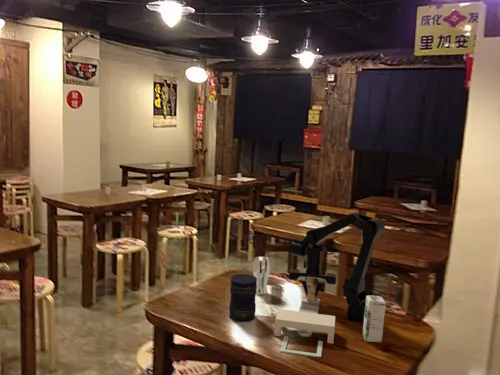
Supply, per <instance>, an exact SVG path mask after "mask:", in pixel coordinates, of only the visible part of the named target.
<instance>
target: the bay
mask: <svg viewBox="0 0 500 375" xmlns="http://www.w3.org/2000/svg"><path fill="white" fill-rule="evenodd" d="M289 337H290V336H288V335H284V337H283V340H282V343H281V347H280V349H279V352H280V353H286V354H291V355H301V356H306V357H313V358H318V359H319V358H322V353H323V342H324V341H323V340H318V341H317V348H316V352H315V353H314V352H306V351H300V350H295V349H294V350H292V349H288V348H287V345H288V343H289Z"/></svg>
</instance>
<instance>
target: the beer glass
mask: <svg viewBox="0 0 500 375" xmlns="http://www.w3.org/2000/svg"><path fill="white" fill-rule="evenodd" d="M270 262H271V260H270V258H269V257H267V256H256V257H254V258H253V265H252V266H253V267H252V271H253V272H252V274H253V276H255V277H256V278H257V289H256V291H257V292H256V294H257V295H258V296H266V295H267V294H268V287H267V286H268V281H269V276H270V271H271V270H270V269H271V265H270V264H271V263H270ZM256 294H255V295H256Z"/></svg>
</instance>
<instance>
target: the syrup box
mask: <svg viewBox="0 0 500 375" xmlns="http://www.w3.org/2000/svg"><path fill="white" fill-rule="evenodd" d="M386 304H387V302H385V299H384V297H383V296H381V295H369V296H366V304H365V313H364V322H362V323H363V324H362V325H363V326H362V336H363V339H364V341H365V342H368V343H369V342H370V343H371V342H373V343H374V342H375V343H382V342H383V334H384V333H383V332H384V321H385V313H386Z"/></svg>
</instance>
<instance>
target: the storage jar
mask: <svg viewBox="0 0 500 375" xmlns="http://www.w3.org/2000/svg"><path fill="white" fill-rule="evenodd" d="M229 286H230V287H229V288H230V289H229V292H230V301H229V305H228V311H229V315H228V317H229V319H230V320H231V321H233V322H237V323H249V322H253V321H254V320H255V318H256V310H257V309H256V305H257V304H256V292H257V291H256V289H257V278H256V277H255V276H254V275H252V274H245V273H238V274H234V275H232V276H231V277H230V285H229Z"/></svg>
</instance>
